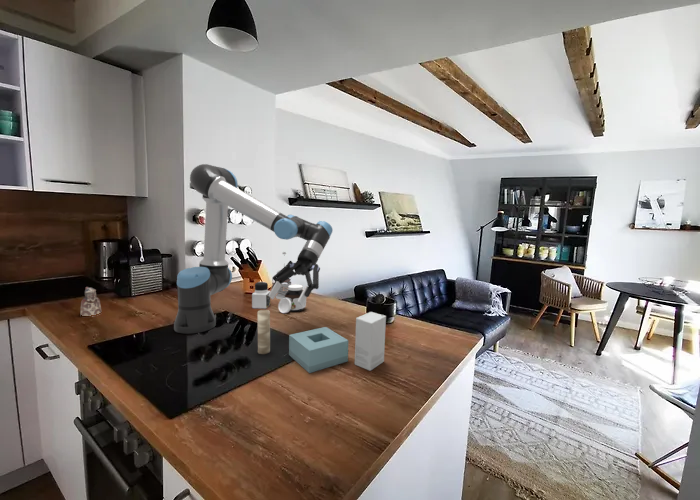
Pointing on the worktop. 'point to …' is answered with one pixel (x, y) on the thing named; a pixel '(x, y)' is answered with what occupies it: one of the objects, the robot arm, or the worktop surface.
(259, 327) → the dowel pin
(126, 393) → the worktop surface
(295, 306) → the spread jar
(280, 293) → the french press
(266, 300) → the medicine bottle
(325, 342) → the socket block
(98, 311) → the figurine
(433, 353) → the worktop surface
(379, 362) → the skincare box
